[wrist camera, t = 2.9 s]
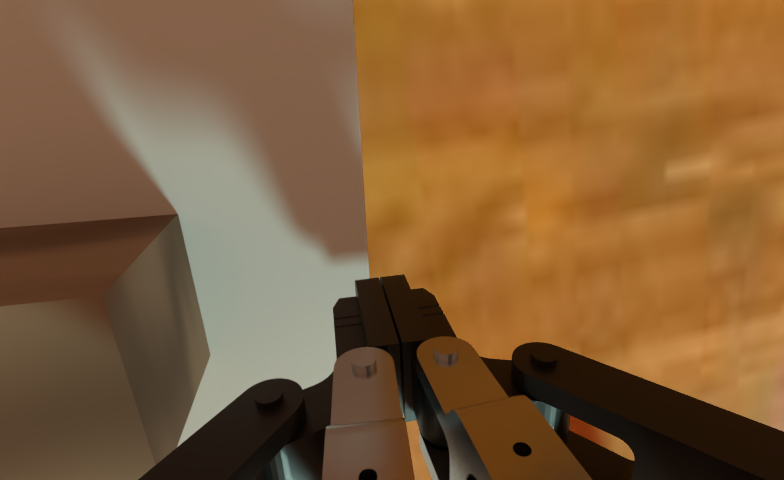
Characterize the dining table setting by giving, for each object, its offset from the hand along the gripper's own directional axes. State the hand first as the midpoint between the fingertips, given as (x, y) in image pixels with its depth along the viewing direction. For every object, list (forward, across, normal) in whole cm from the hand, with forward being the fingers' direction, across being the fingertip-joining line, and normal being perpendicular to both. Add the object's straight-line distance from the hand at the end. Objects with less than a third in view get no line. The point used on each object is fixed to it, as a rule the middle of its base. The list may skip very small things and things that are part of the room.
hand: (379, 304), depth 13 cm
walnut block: (+2, +9, 0) cm, 9 cm away
